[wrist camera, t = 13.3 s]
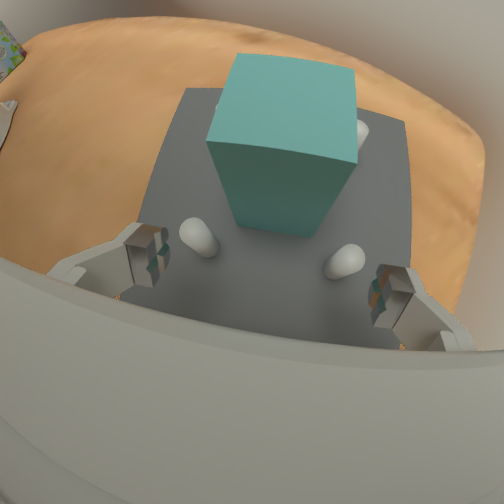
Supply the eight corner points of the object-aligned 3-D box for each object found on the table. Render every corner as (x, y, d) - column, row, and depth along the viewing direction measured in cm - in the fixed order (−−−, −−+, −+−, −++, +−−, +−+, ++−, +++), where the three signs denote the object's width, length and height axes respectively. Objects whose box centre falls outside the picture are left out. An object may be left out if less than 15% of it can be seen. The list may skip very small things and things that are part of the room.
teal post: (237, 225, 18) (205, 140, 8) (250, 161, 19) (237, 53, 9) (311, 238, 18) (357, 163, 8) (319, 171, 19) (354, 69, 9)
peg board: (127, 311, 19) (85, 311, 14) (190, 97, 22) (175, 57, 17) (387, 358, 17) (424, 373, 12) (398, 130, 21) (421, 94, 15)
